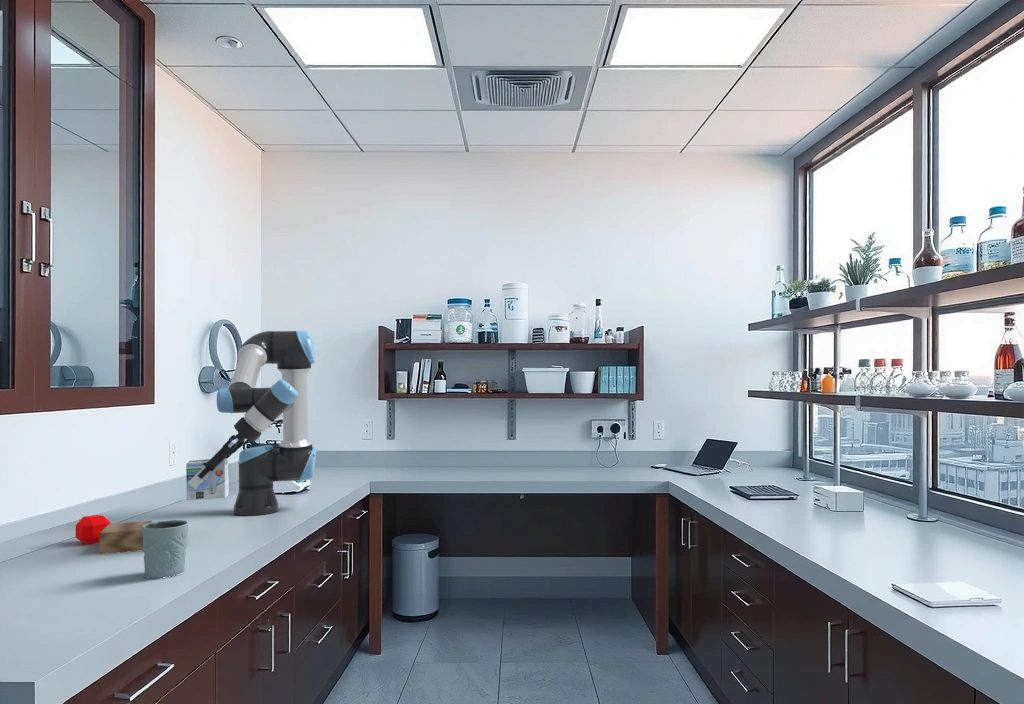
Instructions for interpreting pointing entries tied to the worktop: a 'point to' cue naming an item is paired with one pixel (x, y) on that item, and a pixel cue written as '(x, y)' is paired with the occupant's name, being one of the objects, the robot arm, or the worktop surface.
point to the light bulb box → (208, 481)
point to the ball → (91, 528)
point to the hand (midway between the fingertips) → (195, 483)
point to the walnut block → (122, 537)
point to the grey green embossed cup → (164, 548)
